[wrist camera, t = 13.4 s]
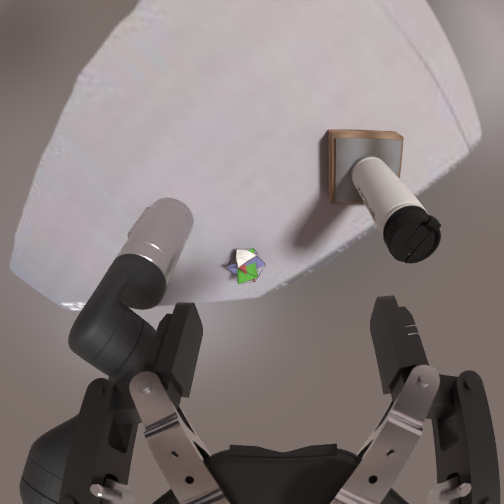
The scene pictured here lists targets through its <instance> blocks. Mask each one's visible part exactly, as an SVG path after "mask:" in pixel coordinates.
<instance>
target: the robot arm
mask: <svg viewBox="0 0 504 504" xmlns="http://www.w3.org/2000/svg"><path fill="white" fill-rule="evenodd" d="M192 226H193V217H192V214H191V212H190V210H189V209H188V208H187V207H186V205H184V204H183V203H182V202H180V201H178V200H175V199H171V198H165V199H161V200H158V201H157V202H155V203H154V204H153V205H152V206H151V207H147V208H146V209H145V211H144V212H143V213H142V215H141V216H140V217H139V219H138V220H137V221H136V223H135V224H134V226H133V227H132V228H131V230H130V231H129V233H128V238H129V239H128V240H127V242H126V243H125V245H124V246H123V248H122V249H121V251H120V252H119V254H118V255H117V257H116V259H115V260H114V261H113V263H112V265H111V266H110V268H109V269H108V271H107V272H106V274H105V276H104V277H103V279H102V280H101V282H100V284H99V285H98V287H97V288H96V290H95V291H94V293H93V294H92V296H91V297H90V299H89V300H88V302H87V303H86V305H85V306H84V308H83V309H82V311H81V312H80V314H79V315H78V317H77V319H76V320H75V322H74V324H73V326H72V328H71V331H70V334H69V339H68V343H69V347H70V349H71V350H72V351H73V352H74V353H76V354H77V355H78V356H80V357H81V358H82V359H84V360H85V361H87V362H88V363H90V364H91V365H93V366H94V367H96V368H97V369H99V370H100V371H102V372H103V373H105V374H107V375H108V376H109V378H108V380H107V379H104V378H98V379H95V380H94V381H92V382H91V383H90V384H89V386H88V388H87V390H86V393H85V396H84V400H83V403H82V406H81V409H80V412H79V414H78V415H76V416H75V417H73V418H71V419H70V420H68V421H66V422H64V423H62V424H60V425H58V426H57V427H55V428H53V429H51V430H50V431H48V432H46V433H45V434H43V435H42V436H41V437H39V438H38V439H37V440H36V441H35V442H34V443H33V445H32V446H31V449H30V451H29V455H28V458H27V461H26V464H25V467H24V471H23V474H22V477H21V481H20V495H21V499H22V502H23V504H135V496H134V493H133V491H132V490H131V489H130V488H129V487H128V486H127V484H128V477H129V471H130V465H131V459H132V453H133V448H134V443H135V438H136V432H137V428H138V423H143V424H144V427H145V430H146V431H145V432H144V435H145V439H146V441H147V443H148V445H149V447H150V449H151V451H152V454H153V456H154V458H155V460H156V462H157V464H158V466H159V467H160V469H161V471H162V473H163V475H164V477H165V479H166V480H167V482H168V484H169V486H170V488H171V489H170V490H169V491H168V492H166V493H165V494H164V495H163V496H161V497H160V498H159V499H157V500H156V501H155V502H154V503H153V504H409V503H408V502H406V501H405V500H404V499H403V498H402V497H401V496H400V495H399V494H398V493H397V492H396V491H395V490H393V489H392V488H391V487H392V485H393V484H394V482H395V481H396V479H397V477H398V476H399V474H400V472H401V471H402V469H403V468H404V466H405V464H406V462H407V460H408V459H409V457H410V455H411V453H412V452H413V450H414V448H415V446H416V444H417V442H418V440H419V438H420V436H421V434H422V430H423V429H422V425H423V422H424V420H425V418H426V419H432V426H433V434H434V443H435V453H436V466H437V485H436V486H434V487H433V488H432V489H431V491H430V493H429V495H428V499H427V504H500V480H499V467H498V458H497V450H496V443H495V436H494V430H493V425H492V420H491V415H490V410H489V406H488V402H487V397H486V393H485V390H484V386H483V382H482V379H481V377H480V376H479V375H478V374H477V373H476V372H474V371H464V372H462V373H461V374H460V375H459V377H454V376H446V375H441V374H438V372H437V371H436V370H435V369H434V368H433V367H431V366H430V365H429V363H428V361H427V358H426V355H425V351H424V348H423V345H422V342H421V339H420V336H419V335H418V330H417V328H416V326H415V322H414V319H413V316H412V314H411V313H410V312H409V311H408V310H407V309H406V308H405V307H398V304H397V301H396V299H395V297H394V296H383V297H377V299H376V302H375V305H374V309H373V313H372V316H371V320H370V331H371V336H372V340H373V344H374V349H375V353H376V358H377V363H378V368H379V373H380V378H381V383H382V389H383V394H389V393H391V395H392V401H391V402H390V404H389V406H388V407H387V409H386V411H385V413H384V414H383V416H382V418H381V420H380V421H379V423H378V425H377V426H376V428H375V430H374V431H373V432H372V434H371V435H370V437H369V438H368V440H367V441H366V443H365V444H364V445H363V447H362V448H361V449H360V451H359V452H358V454H357V455H356V454H354V453H352V452H349V451H347V450H343V449H338V448H337V444H327V445H313V446H308V447H304V448H300V449H297V450H293V451H289V452H277V451H272V450H269V449H264V448H261V447H257V446H242V445H230V449H229V450H224V451H220V452H218V453H215V454H213V455H211V454H210V453H209V451H208V450H207V448H206V447H205V446H204V444H203V443H202V441H201V440H200V439H199V437H198V436H197V434H196V432H195V431H194V429H193V427H192V426H191V424H190V422H189V420H188V419H187V417H186V415H185V413H184V412H183V410H182V408H181V406H180V405H179V404H180V399H181V397H188V398H189V395H190V390H191V386H192V381H193V376H194V371H195V367H196V363H197V358H198V354H199V349H200V345H201V340H202V336H203V327H202V323H201V320H200V317H199V314H198V311H197V309H196V306H195V304H194V303H180V302H178V303H177V304H176V305H175V308H174V311H173V314H166V315H165V317H164V318H163V319H162V320H161V322H160V323H159V326H158V328H157V331H156V330H155V329H154V328H153V327H152V326H151V325H150V324H149V323H148V322H146V321H145V320H144V319H142V318H141V317H140V316H138V315H137V314H136V313H134V312H133V311H132V310H131V309H129V308H128V307H130V308H134V309H141V310H142V309H143V310H144V309H150V308H153V307H155V306H156V305H158V304H159V302H160V301H161V299H162V298H163V295H164V293H165V290H166V288H167V285H168V283H169V280H170V278H171V275H172V273H173V271H174V268H175V266H176V264H177V261H178V259H179V256H180V254H181V252H182V250H183V247H184V245H185V243H186V240H187V238H188V236H189V234H190V232H191V229H192Z"/></svg>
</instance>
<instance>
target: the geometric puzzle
mask: <svg viewBox="0 0 504 504" xmlns="http://www.w3.org/2000/svg"><path fill="white" fill-rule="evenodd" d="M254 251H255V250H254V248H252V249H251V250H240V249H236V251H235V252H236V255H235V256H236V263H235V264H233V265H230V266H226V268H228V269H229V270H230V271H231V272H233V273H234V274H235V275H236V276H237V275H238V279H237V281H238V285H239V284H241V283H242V284H243V282H246V281H249V280H251V281H252V280H253V281H254V282H255V278H258V276H257V270H256V268H259V267H262V266H266V264H265V263H264V262H263V260H261V259H260V258H259V257H260V256H259V257H258V256H257V255H255V254H254ZM256 253H257V252H256ZM231 261H232V260H231ZM231 261H230V262H231ZM227 265H228V264H227ZM263 269H264V268H263ZM229 270H228V271H229ZM261 272H262V271H261ZM259 275H260V274H259ZM233 278H234V277H233ZM256 280H257V279H256ZM237 281H236V282H237ZM249 283H250V282H249Z"/></svg>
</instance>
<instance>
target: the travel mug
mask: <svg viewBox="0 0 504 504" xmlns="http://www.w3.org/2000/svg"><path fill="white" fill-rule="evenodd" d="M351 179H352V181H353V183H354V185H355V187H356V189H357V190H358V192H359V194H360V196H361V197H362V199H363V201H364V203H365V205H366V207H367V209H368V210H369V212H370V214H371V216H372V218H373V220H374V222H375V224H376V226H377V228H378V230H379V231H380V234H381V236H382V238H383V240H384V242H385V244H386V245H387V247H388V249H389V251H390V253H391V254H392V256H393V257H394V258H395V259H397V260H398V261H402V262H405V263H417V262H420V261H422V260H424V259H426V258H428V257H429V256H430V255H431V254H432V253H433V252H434V251H435V250H436V248H437V247H438V245H439V243H440V239H441V233H440V229H439V228H440V227H441V224H440V223H439V221H438V220H437V219H436V218H434V217H433V216H430V215H429V214H428V212H427V211H426V210H425V209H424V207H423V206H422V205H421V203H420V202H419V201H418V200H417V199H416V197H415V196H414V195H413V194H412V193H411V192H410V190H409V189H408V188H407V187H406V186H405V185H404V183H403V182H402V181H401V180H400V179H399V178H398V177H397V176H396V175H395V173H394V172H393V171H392V170H391V169H390V168H389V167H388V166H387V165H386V164H385V163H384V162H383V161H382V160H381V159H380V158H378V157H376V156H373V155H367V156H363V157H361V158H360V159H358V160H357V161H356V162H355V163H354V165H353V167H352V170H351Z"/></svg>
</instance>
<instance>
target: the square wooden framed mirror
mask: <svg viewBox="0 0 504 504" xmlns="http://www.w3.org/2000/svg"><path fill="white" fill-rule="evenodd" d="M328 150H329V179H328V195H329V198H330V201H331V204H340V203H364V201H363V199H362V197H361V196H360V194H359V192H358V190H357V189H356V187H355V185H354V183H353V181H352V179H351V170H352V167H353V165H354V163H355V162H356V161H357V160H358V159H360V158H361V157H363V156H367V155H373V156H376V157H378V158H380V159H381V160H382V161H383V162H384V163H385V164H386V165H387V166H388V167H389V168H390V169H391V170H392V171H393V172H394V173H395V175H396V176H397V177H398V178H399V179H400V171H401V161H402V150H403V136H401V135H400V134H398V133H397V132H391V131H374V130H337V129H328Z"/></svg>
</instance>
